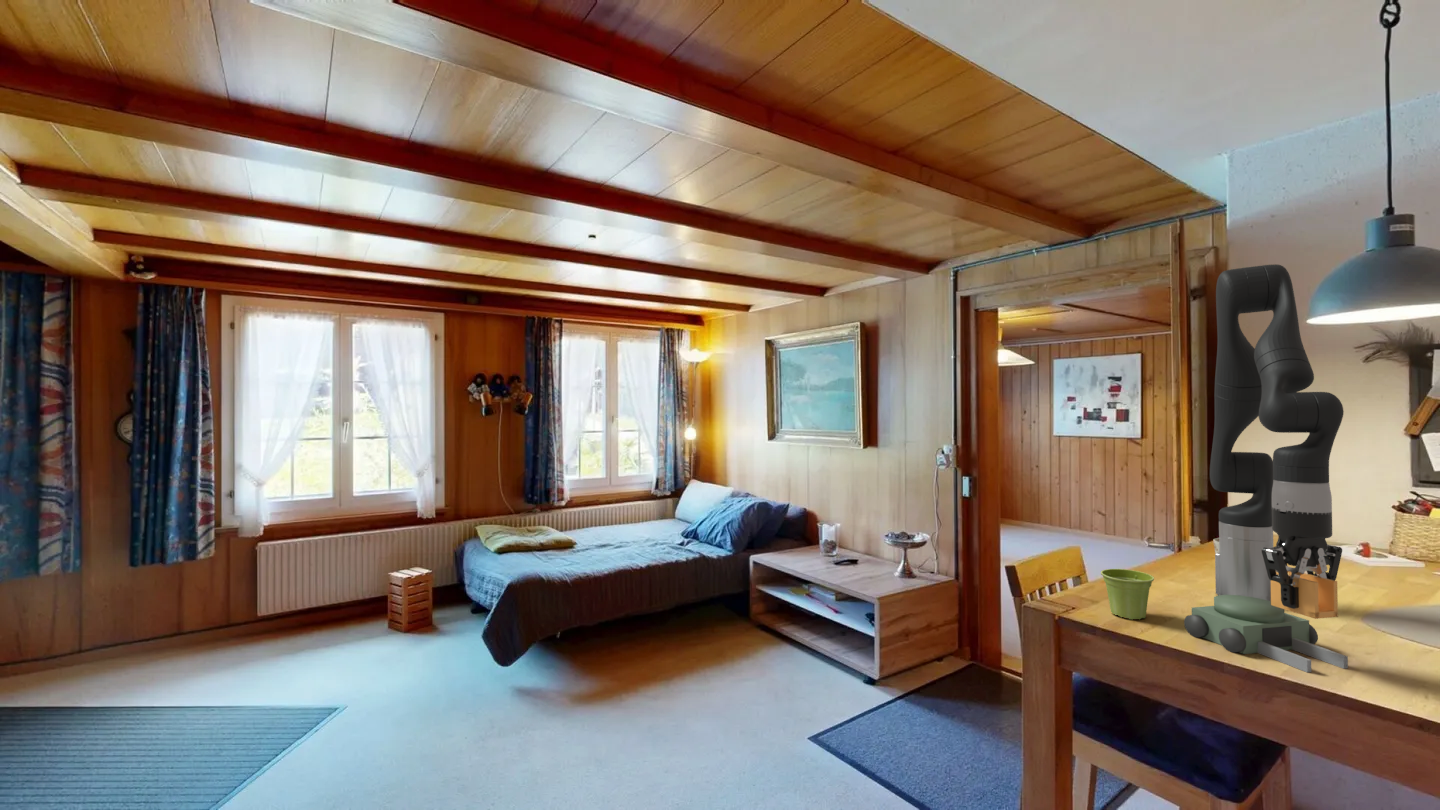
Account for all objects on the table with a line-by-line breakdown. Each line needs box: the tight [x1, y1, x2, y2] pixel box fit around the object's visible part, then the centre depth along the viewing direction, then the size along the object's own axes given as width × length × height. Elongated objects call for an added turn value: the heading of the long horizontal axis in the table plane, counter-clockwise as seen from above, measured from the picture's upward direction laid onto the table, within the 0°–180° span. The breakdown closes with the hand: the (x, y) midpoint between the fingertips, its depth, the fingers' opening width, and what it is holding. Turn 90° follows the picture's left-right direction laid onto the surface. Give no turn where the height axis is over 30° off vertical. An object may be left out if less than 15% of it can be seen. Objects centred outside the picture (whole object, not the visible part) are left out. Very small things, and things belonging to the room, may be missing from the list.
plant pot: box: [1100, 568, 1155, 620], centre depth 128 cm, size 9×9×9 cm
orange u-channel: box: [1271, 572, 1339, 619], centre depth 104 cm, size 7×4×6 cm, turn 9°
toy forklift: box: [1183, 594, 1349, 673], centre depth 110 cm, size 18×16×7 cm
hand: (1302, 605), depth 104 cm, fingers closed on orange u-channel, 4 cm apart
